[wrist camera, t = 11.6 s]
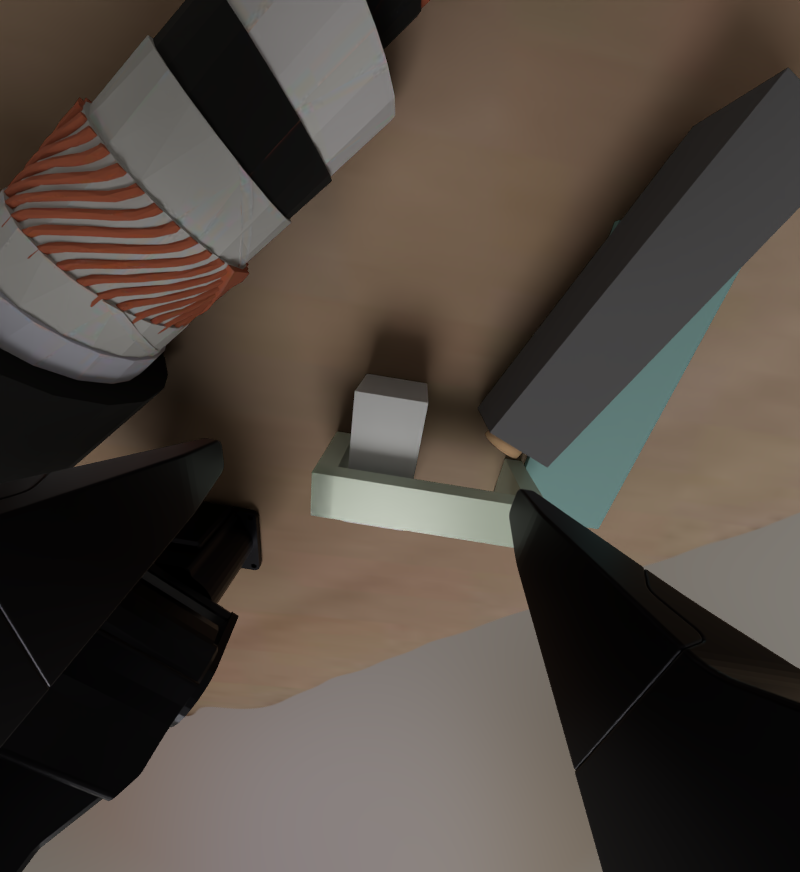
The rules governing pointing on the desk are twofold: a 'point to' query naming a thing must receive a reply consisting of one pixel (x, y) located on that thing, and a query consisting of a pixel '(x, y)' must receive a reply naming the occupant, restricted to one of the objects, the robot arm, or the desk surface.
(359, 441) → the block
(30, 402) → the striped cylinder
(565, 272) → the desk surface
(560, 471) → the mat
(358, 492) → the light grey piece
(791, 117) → the dark gray bar
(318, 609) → the desk surface
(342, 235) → the desk surface
